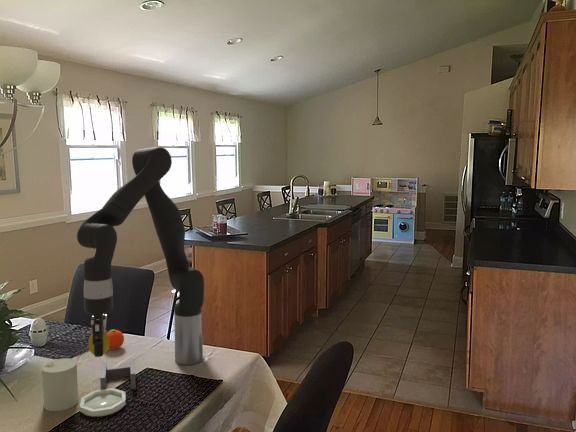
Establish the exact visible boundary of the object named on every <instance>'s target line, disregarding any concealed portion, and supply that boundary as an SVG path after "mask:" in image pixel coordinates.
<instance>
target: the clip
mask: <svg viewBox="0 0 576 432" xmlns="http://www.w3.org/2000/svg"><path fill="white" fill-rule="evenodd" d="M135 360H136V359H135V358H134V359H133V358H132V359H130V360H129V364H130V365H123V366H116V367H115V366H114V367H108V365H107V362H101V367H100V368H101V369H100V375H99V377H100V379H99V380H100V381H99V382H100V390H102V389H107V382H108V380H109V379H115V378H117V379H118V378H122V377H130V390H136V389H137V385H136V384H137V383H136V380H137V379H136V378H137V377H136V361H135ZM107 367H108V368H107Z"/></svg>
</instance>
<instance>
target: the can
mask: <svg viewBox="0 0 576 432" xmlns="http://www.w3.org/2000/svg"><path fill="white" fill-rule="evenodd" d="M77 369H78V361H76V360H75V359H74V358H68V357H67V358H65V357H64V358H57V359H53V360H51V361H47V362H45V363H44V364H43V366H41V375H42V390H43V391H42V393H43V408H44V409H45V410H46V411H49V412H61V411H66V410H68V409H70V408H73V407H74V406H76V405H77V404H78V403H79V400H80V398H79V388H78V370H77Z"/></svg>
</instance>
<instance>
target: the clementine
mask: <svg viewBox="0 0 576 432" xmlns="http://www.w3.org/2000/svg"><path fill="white" fill-rule="evenodd" d="M106 333H107V334H108V337H109V341H110V344H109V348H108V350H109V349H110V350H116V349H117V350H118V349H119V348H121V347H122V345H123V344H124V341H125V336H124V334H123V333H122V331H120V330H119V329H109V331H108V332H106Z"/></svg>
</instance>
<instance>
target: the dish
mask: <svg viewBox="0 0 576 432" xmlns="http://www.w3.org/2000/svg"><path fill="white" fill-rule="evenodd" d="M125 406H126V391H125V390H124V391H123V390H120V389H117V388H114V387H113V388H112V387H111V388H110V387H109V388H106V389H102V390H101V389H97V390H93V391H91V392H90V393H88V394H86V395H85V396H83V397H81V398H80V404H79V412H80V413H82V414H83V415H85V416H87V417H93V418H96V417H100V418H101V417H105V416H109V415H112V414H115V413H117V412H118V411H120V410H121V409H123V408H124V407H125Z"/></svg>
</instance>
